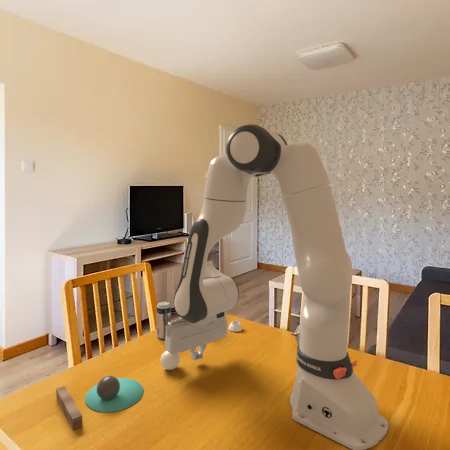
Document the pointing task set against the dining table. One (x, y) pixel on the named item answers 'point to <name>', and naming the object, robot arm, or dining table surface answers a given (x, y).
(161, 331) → the beer can
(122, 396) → the teal mark
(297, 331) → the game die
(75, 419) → the walnut rail
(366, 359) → the dining table surface
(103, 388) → the dark grey ball
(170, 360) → the cue ball
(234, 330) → the white jar
